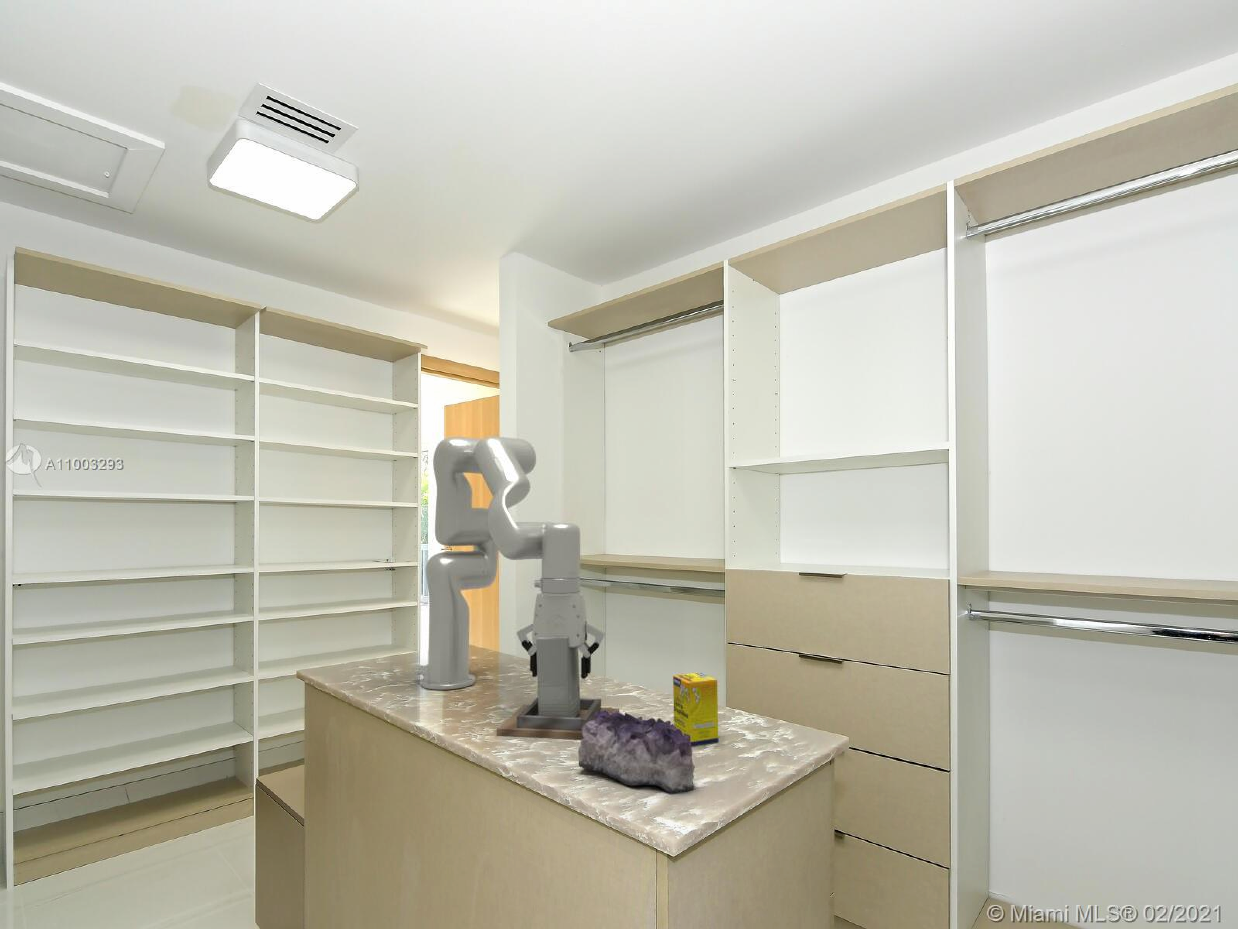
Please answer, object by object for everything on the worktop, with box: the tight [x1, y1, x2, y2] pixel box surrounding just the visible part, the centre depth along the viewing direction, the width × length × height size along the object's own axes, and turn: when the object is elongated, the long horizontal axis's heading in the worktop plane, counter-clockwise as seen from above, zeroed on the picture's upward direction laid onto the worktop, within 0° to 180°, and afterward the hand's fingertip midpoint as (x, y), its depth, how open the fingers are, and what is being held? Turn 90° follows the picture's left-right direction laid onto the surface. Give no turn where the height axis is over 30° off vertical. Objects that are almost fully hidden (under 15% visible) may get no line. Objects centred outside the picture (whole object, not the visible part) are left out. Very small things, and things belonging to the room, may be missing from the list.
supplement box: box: [672, 672, 719, 748], centre depth 117 cm, size 6×6×11 cm
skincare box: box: [536, 637, 581, 718], centre depth 127 cm, size 8×7×16 cm
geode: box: [577, 710, 696, 795], centre depth 101 cm, size 20×12×10 cm, turn 53°
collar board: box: [496, 697, 620, 741], centre depth 126 cm, size 20×16×3 cm
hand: (560, 676), depth 126 cm, fingers open, 9 cm apart
